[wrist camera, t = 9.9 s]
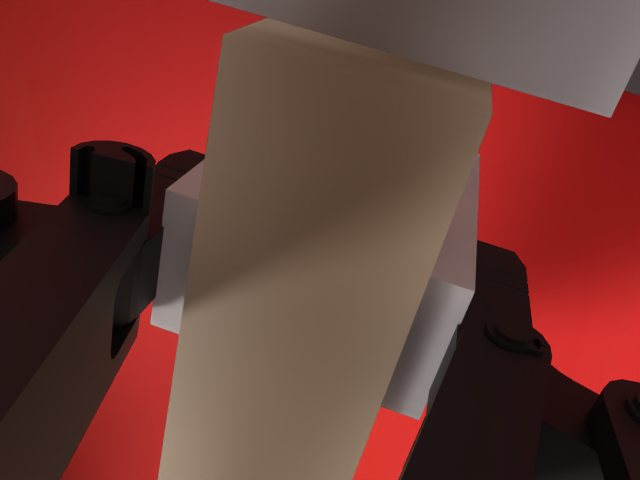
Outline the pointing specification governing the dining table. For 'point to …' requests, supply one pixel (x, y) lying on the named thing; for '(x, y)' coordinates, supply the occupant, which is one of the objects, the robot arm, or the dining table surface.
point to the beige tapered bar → (346, 207)
